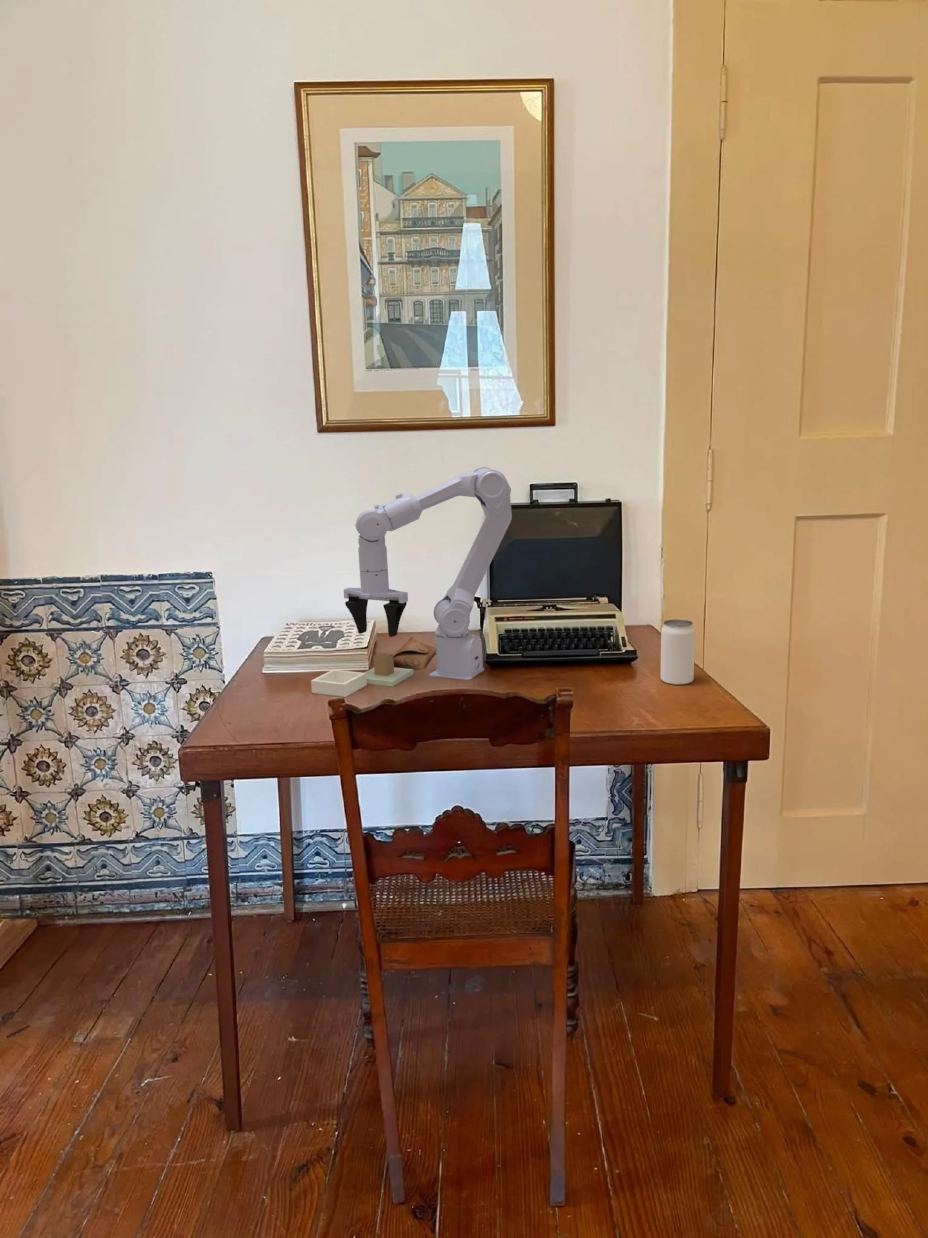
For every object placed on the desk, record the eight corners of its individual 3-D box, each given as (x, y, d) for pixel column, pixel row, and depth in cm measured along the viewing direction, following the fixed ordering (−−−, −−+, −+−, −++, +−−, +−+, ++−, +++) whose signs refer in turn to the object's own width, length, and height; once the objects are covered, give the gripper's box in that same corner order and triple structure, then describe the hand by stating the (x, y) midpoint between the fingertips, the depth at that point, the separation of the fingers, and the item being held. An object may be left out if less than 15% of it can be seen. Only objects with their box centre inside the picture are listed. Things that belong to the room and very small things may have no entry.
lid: (413, 673, 185) (412, 651, 184) (392, 686, 177) (391, 662, 176) (377, 670, 189) (376, 647, 188) (355, 682, 181) (353, 659, 180)
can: (696, 677, 177) (697, 620, 174) (690, 687, 171) (691, 627, 168) (664, 674, 179) (665, 617, 177) (657, 683, 174) (658, 625, 171)
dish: (367, 687, 179) (366, 673, 178) (345, 699, 172) (344, 684, 171) (334, 683, 182) (333, 669, 182) (312, 694, 175) (310, 680, 175)
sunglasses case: (426, 672, 187) (409, 646, 186) (399, 688, 189) (383, 662, 188) (442, 650, 204) (426, 626, 203) (417, 664, 206) (402, 640, 205)
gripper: (333, 571, 178) (337, 635, 181) (393, 575, 171) (396, 642, 174) (353, 565, 184) (357, 627, 187) (412, 568, 177) (415, 633, 180)
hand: (377, 634), depth 181 cm, fingers open, 7 cm apart
